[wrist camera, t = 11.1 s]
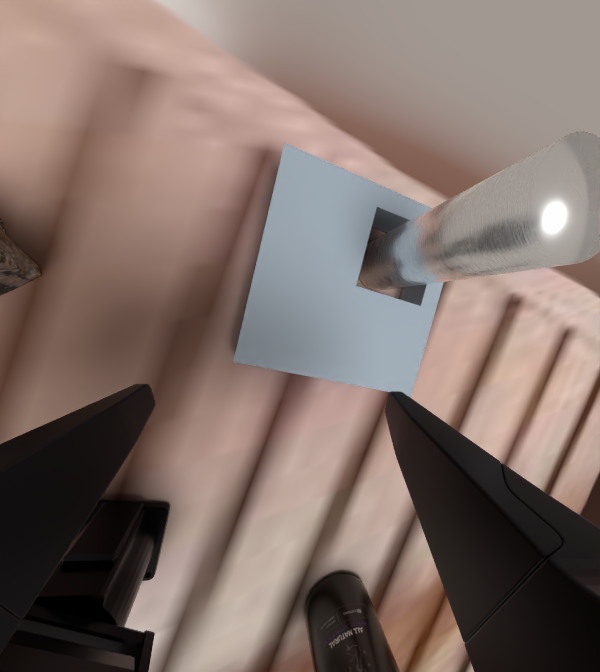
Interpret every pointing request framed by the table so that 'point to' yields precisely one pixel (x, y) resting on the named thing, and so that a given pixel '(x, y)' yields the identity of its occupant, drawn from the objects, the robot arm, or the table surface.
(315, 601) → the supplement bottle
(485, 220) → the polished metal rod
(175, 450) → the table surface
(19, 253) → the stone block
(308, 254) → the jig plate
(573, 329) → the table surface
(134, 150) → the table surface
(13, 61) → the table surface
